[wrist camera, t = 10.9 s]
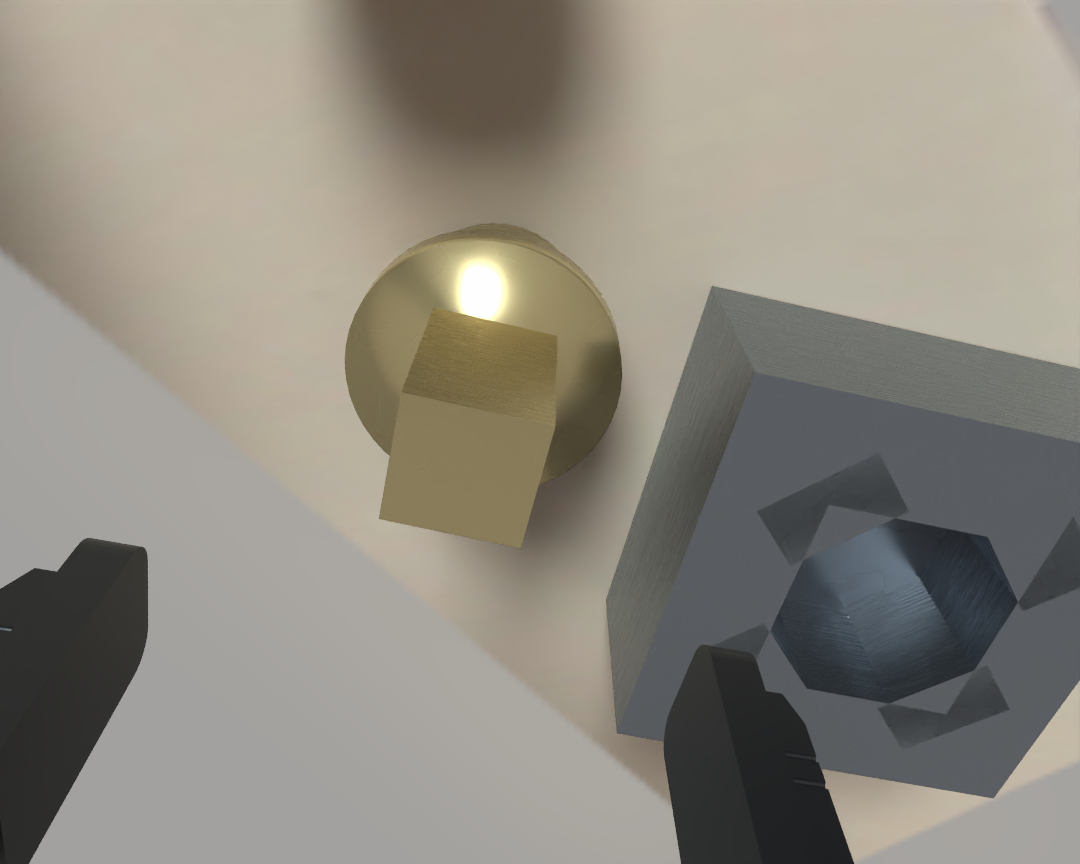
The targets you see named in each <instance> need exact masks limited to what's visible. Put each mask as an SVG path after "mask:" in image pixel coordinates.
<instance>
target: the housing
mask: <svg viewBox="0 0 1080 864" xmlns="http://www.w3.org/2000/svg"><path fill="white" fill-rule="evenodd" d="M606 603H607V616H608V628H609V641H610V653H611V666H612V678H613V691H614V703H615V716H616V728H617V733H619V734H625V735H631V736H636V737H642V738H648V739H654V740H659V741H664V734H665V727H666V722H667V718H668V715H669V712H670V710H671V707H672V705H673V703H674V700H675V698H676V696H677V693H678V691H679V689H680V686H681V684H682V682H683V679H684V677H685V675H686V672H687V670H688V668H689V665H690V663H691V661H692V658H693V656H694V654H695V652H696V650H697V648H698V647H699V646H701V645H709V646H715V647H721V648H727V649H733V650H739V651H745V652H750V653H752V654H753V655H754V657H755V659H756V661H757V664H758V667H759V671H760V674H761V677H762V680H763V683H764V687H765V690H766V691H769V692H775V693H781V694H783V695H784V697H785V698H786V699H787V701H788V702H789V703H790V705H791V706H792V707H793V708H794V710H795V711H796V712H797V714H798V715H799V716H800V718H801V719H802V720H803V722H804V723H805V725H806V727H807V730H808V733H809V736H810V739H811V742H812V745H813V747H814V750H815V753H816V762H819V765H820V768H821V769H827V770H833V771H838V772H844V773H850V774H856V775H862V776H867V777H873V778H879V779H885V780H890V781H896V782H902V783H908V784H913V785H919V786H925V787H931V788H937V789H942V790H948V791H954V792H960V793H965V794H971V795H977V796H983V797H989V798H994V797H995V796H996V794H997V793H998V791H999V790H1000V789H1001V787H1002V786H1003V785H1004V783H1005V782H1006V780H1007V779H1008V778H1009V776H1010V775H1011V774H1012V772H1013V771H1014V770H1015V768H1016V767H1017V765H1018V764H1019V763H1020V761H1021V760H1022V759H1023V757H1024V756H1025V754H1026V753H1027V752H1028V750H1029V749H1030V748H1031V746H1032V745H1033V743H1034V742H1035V741H1036V739H1037V738H1038V737H1039V735H1040V734H1041V733H1042V731H1043V730H1044V728H1045V727H1046V726H1047V724H1048V723H1049V722H1050V720H1051V719H1052V717H1053V716H1054V715H1055V713H1056V712H1057V711H1058V709H1059V708H1060V707H1061V705H1062V704H1063V702H1064V701H1065V700H1066V698H1067V697H1068V696H1069V694H1070V693H1071V691H1072V690H1073V689H1074V687H1075V686H1076V685H1077V683H1078V682H1079V681H1080V369H1077V368H1073V367H1068V366H1064V365H1059V364H1055V363H1051V362H1046V361H1042V360H1037V359H1033V358H1028V357H1024V356H1020V355H1015V354H1011V353H1006V352H1002V351H997V350H993V349H989V348H984V347H980V346H975V345H971V344H966V343H962V342H957V341H953V340H949V339H944V338H940V337H935V336H931V335H926V334H922V333H918V332H913V331H909V330H904V329H900V328H895V327H891V326H887V325H882V324H878V323H873V322H869V321H864V320H860V319H856V318H851V317H847V316H842V315H838V314H833V313H829V312H824V311H820V310H816V309H811V308H807V307H802V306H798V305H793V304H789V303H785V302H780V301H776V300H771V299H767V298H762V297H758V296H754V295H749V294H745V293H740V292H736V291H731V290H727V289H723V288H718V287H714V286H712V288H711V291H710V294H709V297H708V300H707V303H706V306H705V309H704V312H703V314H702V317H701V320H700V323H699V326H698V329H697V332H696V335H695V338H694V341H693V344H692V347H691V350H690V353H689V356H688V359H687V362H686V365H685V368H684V371H683V374H682V377H681V380H680V383H679V386H678V389H677V392H676V395H675V398H674V400H673V403H672V406H671V409H670V412H669V415H668V418H667V421H666V424H665V427H664V430H663V433H662V436H661V439H660V442H659V445H658V448H657V451H656V454H655V457H654V460H653V463H652V466H651V469H650V472H649V475H648V478H647V481H646V484H645V486H644V489H643V492H642V495H641V498H640V501H639V504H638V507H637V510H636V513H635V516H634V519H633V522H632V525H631V528H630V531H629V534H628V537H627V540H626V543H625V546H624V549H623V552H622V555H621V558H620V561H619V564H618V567H617V570H616V572H615V575H614V578H613V581H612V584H611V587H610V590H609V593H608V596H607V599H606Z"/></svg>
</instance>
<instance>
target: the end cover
mask: <svg viewBox="0 0 1080 864" xmlns="http://www.w3.org/2000/svg"><path fill="white" fill-rule="evenodd" d="M345 371H346V380H347V385H348V389H349V394H350V397H351V400H352V402H353V405H354V408H355V410H356V412H357V414H358V416H359V418H360V420H361V422H362V423H363V425H364V427H365V428H366V430H367V431H368V432H369V434H370V435H371V437H372V438H373V439H374V440H375V441H376V443H377V444H378V445H379V446H380V447H381V448H382V449H383V450H384V451H385V452H386V453H387V454H388V455H389V456H390V459H389V464H388V470H387V476H386V481H385V487H384V493H383V498H382V504H381V510H380V515H379V519H382V520H387V521H392V522H396V523H401V524H406V525H411V526H416V527H420V528H425V529H430V530H435V531H440V532H445V533H449V534H454V535H459V536H464V537H469V538H473V539H478V540H483V541H488V542H493V543H497V544H502V545H507V546H512V547H517V548H521V546H522V543H523V539H524V535H525V532H526V528H527V525H528V521H529V518H530V514H531V511H532V507H533V504H534V500H535V497H536V493H537V490H538V486H539V485H540V484H542V483H544V482H547V481H549V480H551V479H554V478H556V477H557V476H559V475H561V474H562V473H564V472H566V471H568V470H569V469H570V468H572V467H573V466H574V465H576V464H577V463H578V462H580V461H581V460H582V459H583V458H584V457H585V456H586V455H587V454H588V453H589V452H590V451H591V450H592V449H593V448H594V447H595V445H596V444H597V443H598V442H599V440H600V439H601V438H602V436H603V435H604V433H605V431H606V429H607V428H608V426H609V424H610V422H611V420H612V418H613V415H614V413H615V410H616V408H617V404H618V399H619V395H620V391H621V380H622V367H621V354H620V347H619V341H618V336H617V331H616V326H615V323H614V320H613V317H612V315H611V312H610V309H609V307H608V305H607V304H606V302H605V300H604V298H603V296H602V294H601V293H600V291H599V290H598V288H597V287H596V286H595V284H594V283H593V281H592V280H591V279H590V278H589V277H588V276H587V275H586V274H585V273H584V272H583V270H582V269H581V268H580V267H578V266H577V265H576V264H575V263H574V262H572V261H571V260H570V259H569V258H568V257H566V256H565V255H563V254H562V253H560V252H559V251H558V250H557V249H556V248H555V247H554V246H553V245H552V244H550V243H549V242H548V241H547V240H545V239H544V238H542V237H540V236H539V235H537V234H535V233H533V232H531V231H529V230H526V229H523V228H520V227H517V226H512V225H507V224H481V225H476V226H472V227H468V228H466V229H463V230H460V231H455V232H451V233H446V234H442V235H439V236H436V237H433V238H431V239H428V240H425V241H423V242H421V243H419V244H418V245H416V246H414V247H412V248H410V249H408V250H407V251H406V252H404V253H403V254H401V255H400V256H399V257H397V258H396V259H395V260H394V261H393V262H392V263H391V264H389V265H388V266H387V267H386V268H385V269H384V270H383V271H382V273H381V274H380V275H379V276H378V278H377V279H376V280H375V282H374V283H373V284H372V286H371V287H370V289H369V291H368V292H367V294H366V296H365V297H364V299H363V301H362V303H361V305H360V306H359V308H358V310H357V312H356V314H355V316H354V319H353V321H352V324H351V327H350V329H349V334H348V338H347V343H346V352H345Z"/></svg>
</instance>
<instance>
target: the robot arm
mask: <svg viewBox="0 0 1080 864" xmlns="http://www.w3.org/2000/svg"><path fill="white" fill-rule="evenodd" d="M147 632H148V560H147V552H146V550H145V548H143V547H139V546H133V545H127V544H121V543H116V542H110V541H104V540H98V539H92V538H86V539H84V540H83V541H82V542H80V544H79V545H78V546H77V547H76V548H75V550H74V551H73V552H72V553H71V555H70V556H69V557H68V559H67V560H66V561H65V562H64V564H63V565H62V566H61V568H60V569H59V570H58V571H57V572H55V571H49V570H42V569H36V568H35V569H33V570H31V571H29V572H28V573H26V574H24V575H23V576H21V577H19V578H18V579H16V580H14V581H13V582H11V583H9V584H8V585H6V586H4V587H3V588H1V589H0V864H29V862H30V860H31V859H32V857H33V855H34V853H35V851H36V850H37V848H38V846H39V844H40V842H41V841H42V839H43V837H44V835H45V834H46V831H47V830H48V828H49V826H50V825H51V823H52V821H53V819H54V817H55V816H56V814H57V812H58V810H59V808H60V807H61V805H62V803H63V801H64V800H65V798H66V796H67V794H68V793H69V791H70V789H71V787H72V785H73V784H74V782H75V780H76V778H77V776H78V775H79V773H80V771H81V769H82V768H83V766H84V764H85V762H86V760H87V759H88V757H89V755H90V753H91V751H92V750H93V748H94V746H95V744H96V742H97V741H98V739H99V737H100V735H101V734H102V732H103V730H104V728H105V727H106V725H107V723H108V721H109V719H110V718H111V716H112V713H113V712H114V710H115V708H116V707H117V705H118V703H119V702H120V700H121V698H122V696H123V694H124V693H125V691H126V689H127V687H128V685H129V684H130V682H131V680H132V678H133V676H134V674H135V673H136V671H137V668H138V666H139V664H140V661H141V658H142V655H143V652H144V648H145V644H146V639H147ZM664 758H665V764H666V771H667V777H668V783H669V790H670V796H671V802H672V808H673V815H674V821H675V827H676V834H677V840H678V846H679V852H680V858H681V864H854V862H853V859H852V856H851V853H850V851H849V848H848V845H847V842H846V839H845V836H844V833H843V831H842V828H841V825H840V822H839V819H838V816H837V813H836V810H835V808H834V805H833V802H832V799H831V796H830V793H829V790H828V789H825V783H826V782H825V779H824V776H823V773H822V770H821V768H820V765H819V762H816V753H815V750H814V747H813V745H812V742H811V739H810V736H809V733H808V730H807V727H806V725H805V723H804V722H803V720H802V719H801V718H800V716H799V715H798V714H797V712H796V711H795V710H794V708H793V707H792V706H791V705H790V703H789V702H788V701H787V699H786V698H785V697H784V695H783V694H781V693H775V692H769V691H766V690H765V687H764V683H763V680H762V677H761V674H760V671H759V667H758V664H757V661H756V659H755V657H754V655H753V654H752V653H750V652H745V651H739V650H733V649H727V648H721V647H715V646H709V645H701V646H699V647H698V648H697V650H696V652H695V654H694V656H693V658H692V661H691V663H690V665H689V668H688V670H687V672H686V675H685V677H684V679H683V682H682V684H681V686H680V689H679V691H678V693H677V696H676V698H675V700H674V703H673V705H672V707H671V710H670V712H669V715H668V718H667V722H666V727H665V734H664Z"/></svg>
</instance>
